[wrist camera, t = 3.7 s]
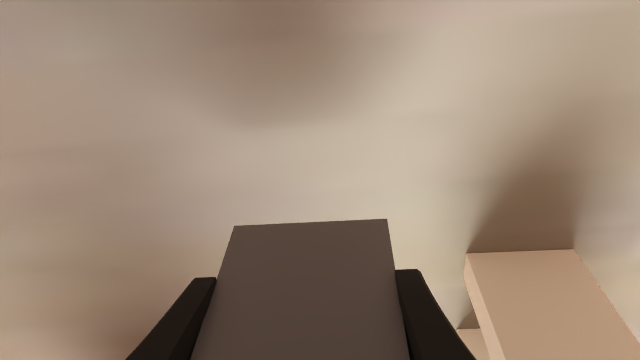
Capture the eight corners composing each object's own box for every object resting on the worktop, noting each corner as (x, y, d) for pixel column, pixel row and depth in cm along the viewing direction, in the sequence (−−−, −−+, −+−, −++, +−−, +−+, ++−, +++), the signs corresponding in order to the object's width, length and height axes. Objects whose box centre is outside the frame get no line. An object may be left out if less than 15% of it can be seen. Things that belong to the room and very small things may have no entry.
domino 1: (387, 256, 15) (441, 627, 7) (243, 262, 15) (146, 621, 7) (386, 218, 14) (448, 593, 6) (234, 225, 14) (115, 588, 7)
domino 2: (566, 273, 21) (693, 475, 14) (463, 277, 22) (531, 476, 14) (573, 249, 20) (713, 450, 13) (465, 253, 21) (539, 451, 13)
